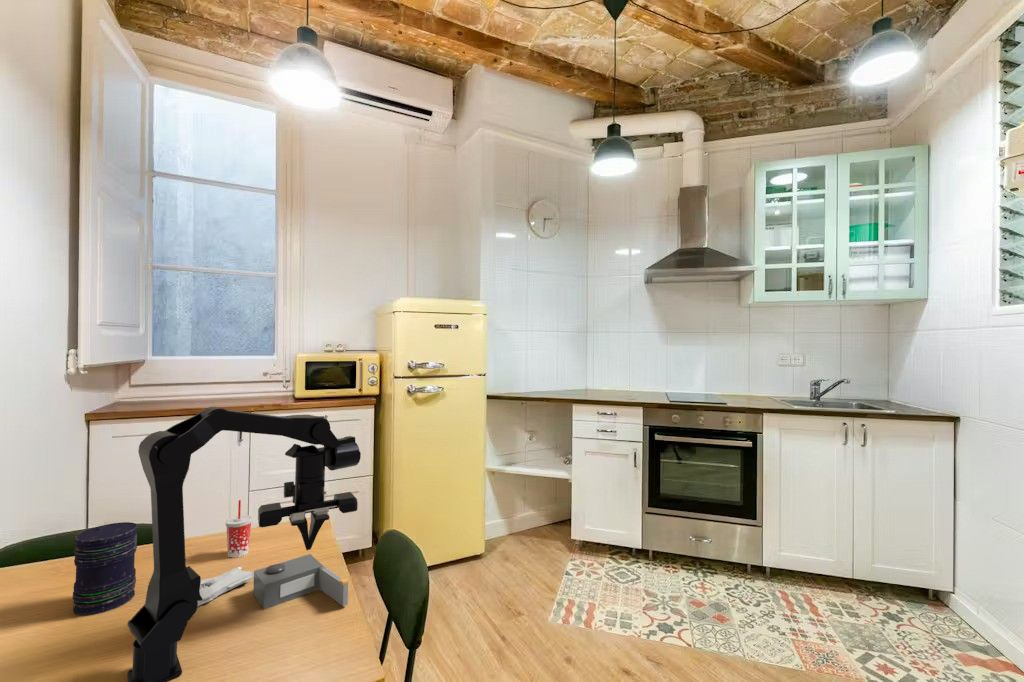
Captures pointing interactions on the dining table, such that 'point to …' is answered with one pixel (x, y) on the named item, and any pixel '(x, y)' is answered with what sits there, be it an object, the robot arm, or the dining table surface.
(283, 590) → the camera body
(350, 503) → the robot arm
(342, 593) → the side door
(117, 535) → the dark blue cylinder
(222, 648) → the dining table surface
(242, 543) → the beverage cup
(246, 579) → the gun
